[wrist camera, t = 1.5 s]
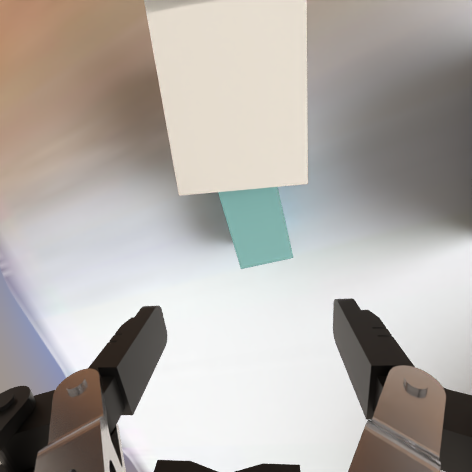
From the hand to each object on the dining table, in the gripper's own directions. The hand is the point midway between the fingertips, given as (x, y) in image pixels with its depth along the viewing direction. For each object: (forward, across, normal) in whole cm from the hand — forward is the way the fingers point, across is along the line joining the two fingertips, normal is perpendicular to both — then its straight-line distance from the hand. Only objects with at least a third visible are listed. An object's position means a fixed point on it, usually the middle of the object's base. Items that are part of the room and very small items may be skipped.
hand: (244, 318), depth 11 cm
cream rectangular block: (+15, 0, -10) cm, 18 cm away
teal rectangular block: (+15, 0, -5) cm, 16 cm away
